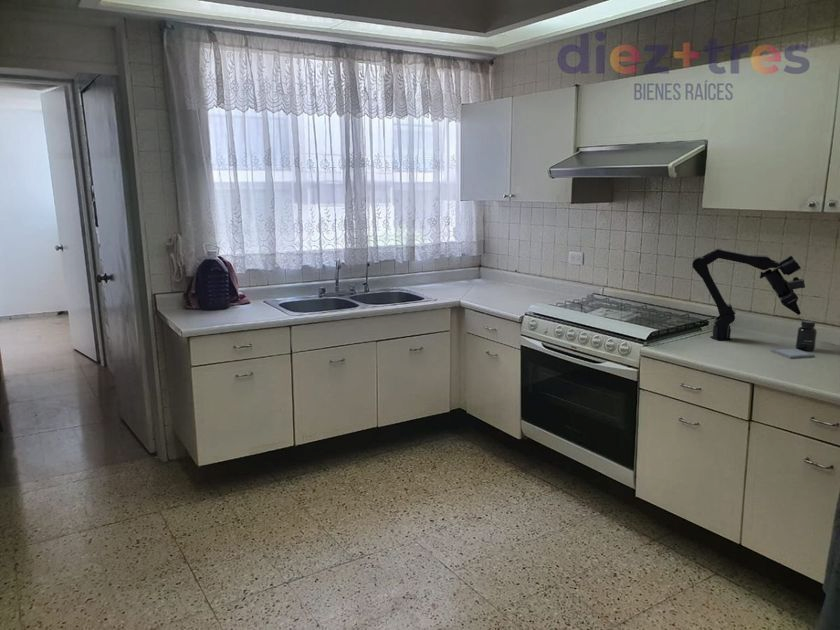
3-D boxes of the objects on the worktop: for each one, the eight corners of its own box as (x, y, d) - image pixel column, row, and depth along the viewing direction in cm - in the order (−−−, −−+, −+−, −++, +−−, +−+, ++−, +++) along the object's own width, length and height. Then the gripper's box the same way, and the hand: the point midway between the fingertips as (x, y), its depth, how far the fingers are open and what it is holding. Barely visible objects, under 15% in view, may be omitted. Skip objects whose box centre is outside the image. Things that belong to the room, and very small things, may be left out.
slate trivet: (790, 358, 247) (790, 356, 247) (770, 351, 258) (770, 349, 258) (814, 356, 249) (815, 354, 249) (794, 349, 260) (794, 347, 259)
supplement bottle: (805, 352, 256) (808, 323, 253) (791, 348, 262) (794, 320, 260) (818, 350, 258) (821, 322, 255) (804, 346, 264) (807, 319, 261)
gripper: (798, 274, 254) (821, 306, 253) (793, 268, 270) (814, 298, 269) (771, 288, 259) (793, 320, 258) (768, 282, 276) (788, 311, 274)
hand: (798, 312), depth 265 cm, fingers open, 9 cm apart
